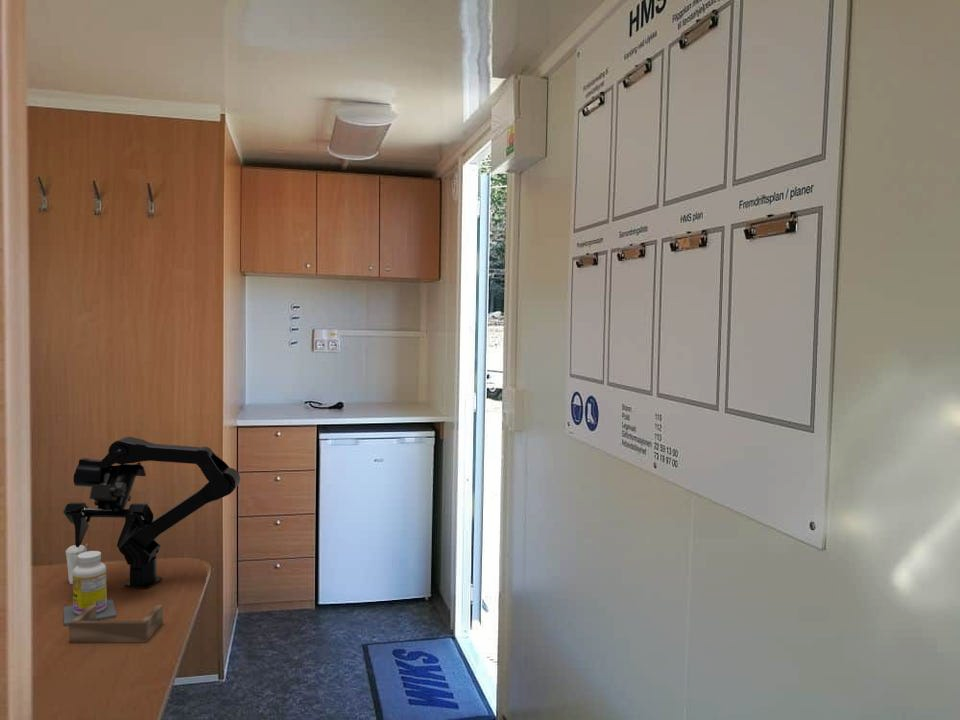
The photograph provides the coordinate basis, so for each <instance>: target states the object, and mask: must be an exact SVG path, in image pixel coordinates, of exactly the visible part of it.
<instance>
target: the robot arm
mask: <svg viewBox="0 0 960 720" xmlns="http://www.w3.org/2000/svg"><path fill="white" fill-rule="evenodd" d="M107 452H108V453H107V454H106V455H105V456H104V457H103V458H102V459H92V458H91V459H90V458H87V457H82V458H79V460H78V465H77V466H76V469H75V472H74V473H73V484H74V486H76V487H84V488H91V489H90V495H89V500H94V501H93V504H94V506H97V508H89V506H88V505H87V504H86V502H68V503H67V504H66V505H65V506H64V509H63V511H62V512H63V514H64V516H65V517H66V518H67V520H68V521H69V522H70V523H71V524H73V525H74V538H75V539H74V541H75V543H74V545H76V547H79V546H80V545H82V543H83V540H84V538H85V535H86V533H87V532H88V529H89V528H90V525H89V524H88V523H89V522H91V521H90V520H91V518H118V519H119V518H122V519H123V518H125V520H124V524H123V527H122V530H121V531H120V532H121V533H120V534H119V537H118V539H117V543H116V547H117V548H118V551H119V552H120V554H121V555H123V556H124V559H125V562H126V564H127V565H129V581H127V582H125V583H124V584H123V586H124V588H126V587H127V588H139V589H140V588H141V589H149V588H152V587H153V586H155V584H158V583H159V582H160V581H161V580H163V577H162V576H157V555H158V554H159V551H160V549H161V544H159V542H157V541H156V539H157V537H159V535H162V533H164V532H166V531H168V530H169V529H170V528H172V527H173V526H175V525H176V524H178V523H179V522H181V521H182V520H184V519H185V518H187V517H188V516H190V515H191V514H193V513H194V512H196V511H197V510H199V509H200V508H202V507H203V506H205V505H206V504H209V503H212V502H214V501H217V500H220V499H222V498H224V497H227V496H229V495H230V494H232V493H233V492H234V491H235V490H236V488H237V487H238V486H239V484H240V482H241V476H240V474H239V472H238V470H237V469H234V468H232V467H230V466H229V465H228V464H227V463H226V462H225V460H223V459H222V458H221V457H220V456H218V455H217V454H216V453H215V452H214V451H213V450H212V449H211V448H210V447H208V446H190V445H189V446H187V445H178V444H177V445H175V444H161V443H153V442H149V441H147V440H144V439H141V438H137V437H133V436H125V437H122V438H120V439H117V440H115V441H113V442H112V443H111V444H110V445H109V447H108V451H107ZM148 461H149V462H163V463H165V462H166V463H175V464H176V463H178V464H189V465H190V464H192V465H193V464H194V465H197V467H198V468H199V469H200V471H201V472H202V473H203V476H204V478H205V479H206V480H207V481H208V482H207V483H206V484H205V485H204V486H202V487H201V489H199V490H198V491H195V492H194V493H193V494H191V495H190V496H188V497H187V498H185V499H184V500H182V501H181V502H179V503H178V504H175V505H174V506H172V508H170V509H168V510H167V511H165V512H164V513H162V514H161V515H160V516H158V517H156V518H155V519H154V513H153V511H152V509H151V507H150V505H148V503H130V504H129V507H128V508H126V507H127V503H128V502H131V500H132V496H131V492H132V489H133V486H134V484H135V479H136V477H146V476H147V474H146V470H145V467H144V466H143V464H141V463H142V462H148ZM115 464H117V465H115Z"/></svg>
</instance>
